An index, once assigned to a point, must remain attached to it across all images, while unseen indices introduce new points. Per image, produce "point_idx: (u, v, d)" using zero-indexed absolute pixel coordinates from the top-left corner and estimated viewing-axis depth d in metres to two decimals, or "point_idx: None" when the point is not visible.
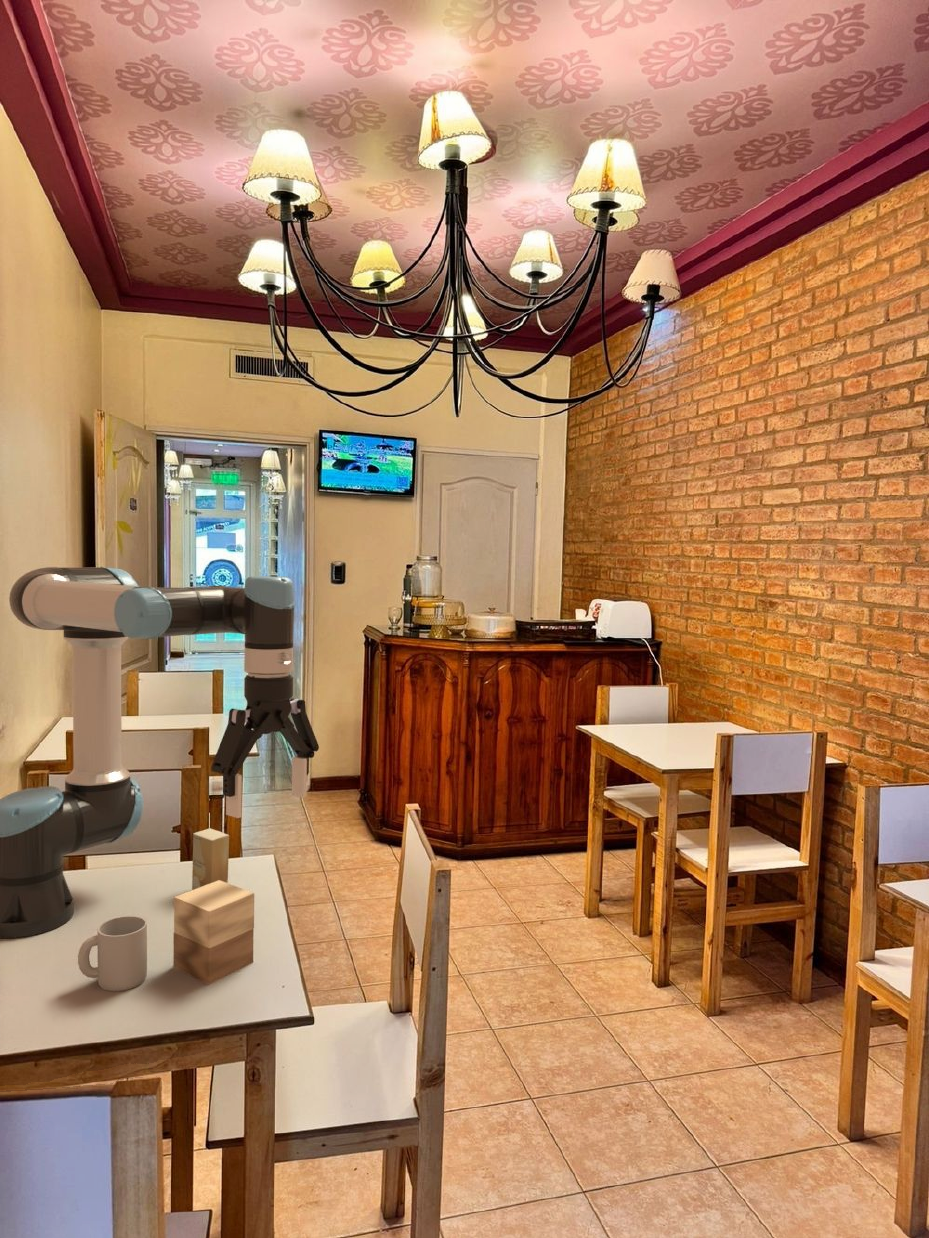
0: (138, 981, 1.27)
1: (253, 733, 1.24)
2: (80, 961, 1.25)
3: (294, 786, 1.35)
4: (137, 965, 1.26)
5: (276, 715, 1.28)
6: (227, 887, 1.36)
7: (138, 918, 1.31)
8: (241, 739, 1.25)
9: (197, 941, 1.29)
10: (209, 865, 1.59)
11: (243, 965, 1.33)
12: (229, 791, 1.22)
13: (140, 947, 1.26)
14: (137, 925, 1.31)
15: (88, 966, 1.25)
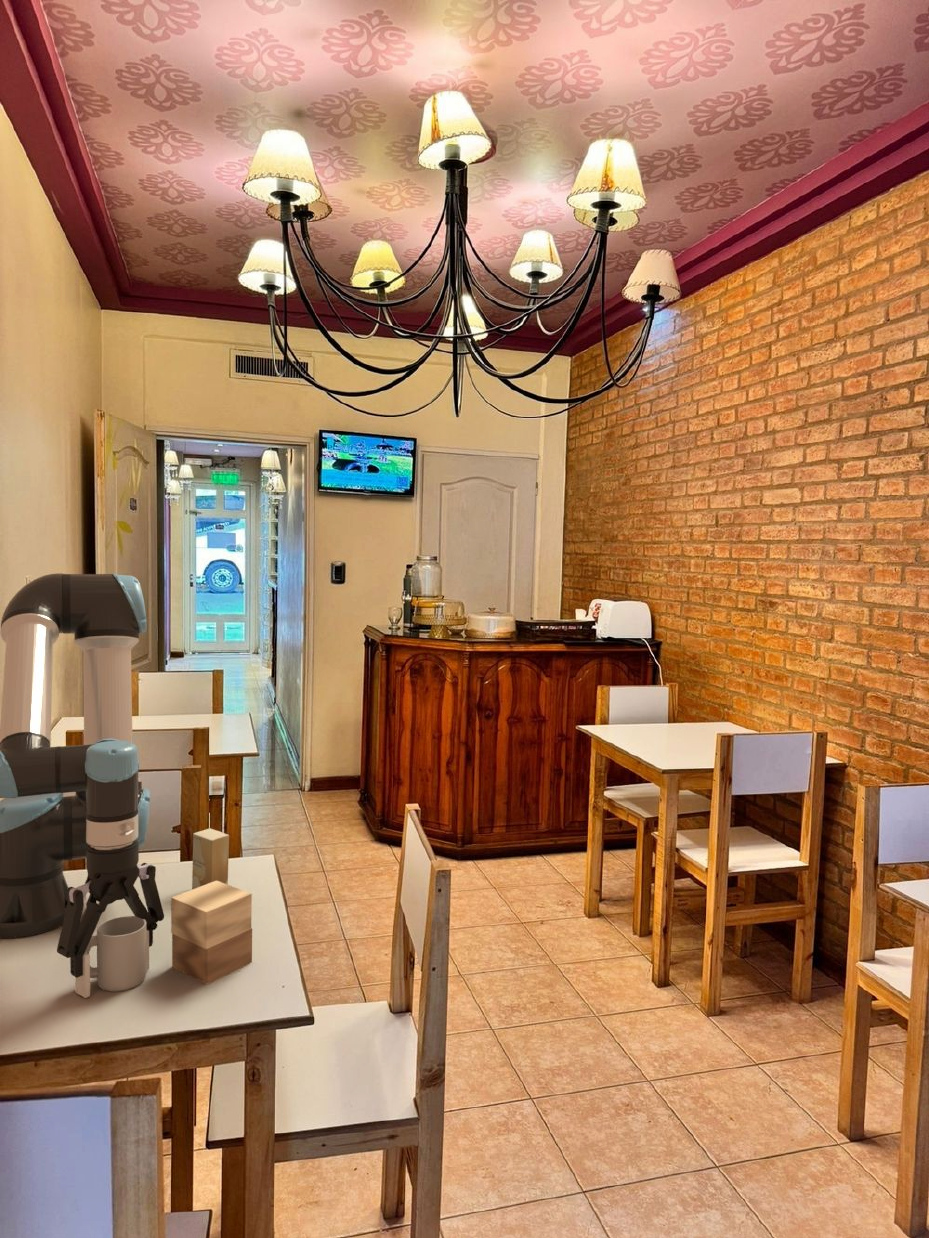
0: (137, 981, 1.26)
1: (96, 908, 1.23)
2: None
3: None
4: (136, 965, 1.26)
5: (121, 882, 1.26)
6: (224, 887, 1.36)
7: (137, 918, 1.31)
8: (85, 915, 1.24)
9: (194, 942, 1.29)
10: (209, 865, 1.59)
11: (242, 965, 1.33)
12: (76, 972, 1.22)
13: (139, 947, 1.26)
14: (137, 925, 1.31)
15: None
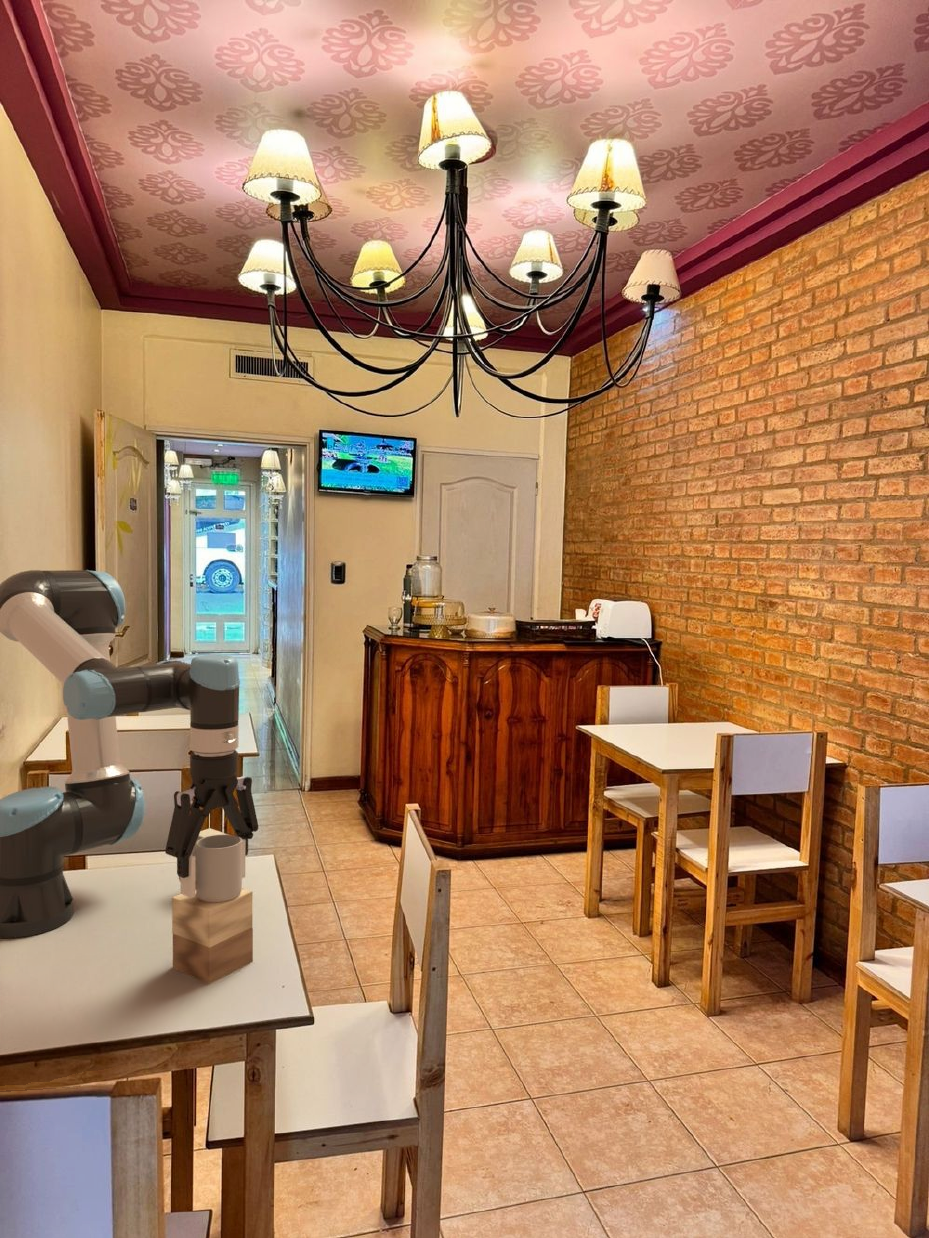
0: (234, 894, 1.31)
1: (200, 813, 1.28)
2: None
3: None
4: (233, 878, 1.31)
5: (222, 790, 1.32)
6: None
7: (233, 836, 1.36)
8: (190, 819, 1.29)
9: (196, 941, 1.29)
10: None
11: (243, 964, 1.33)
12: (183, 873, 1.27)
13: (236, 861, 1.31)
14: (232, 843, 1.36)
15: None
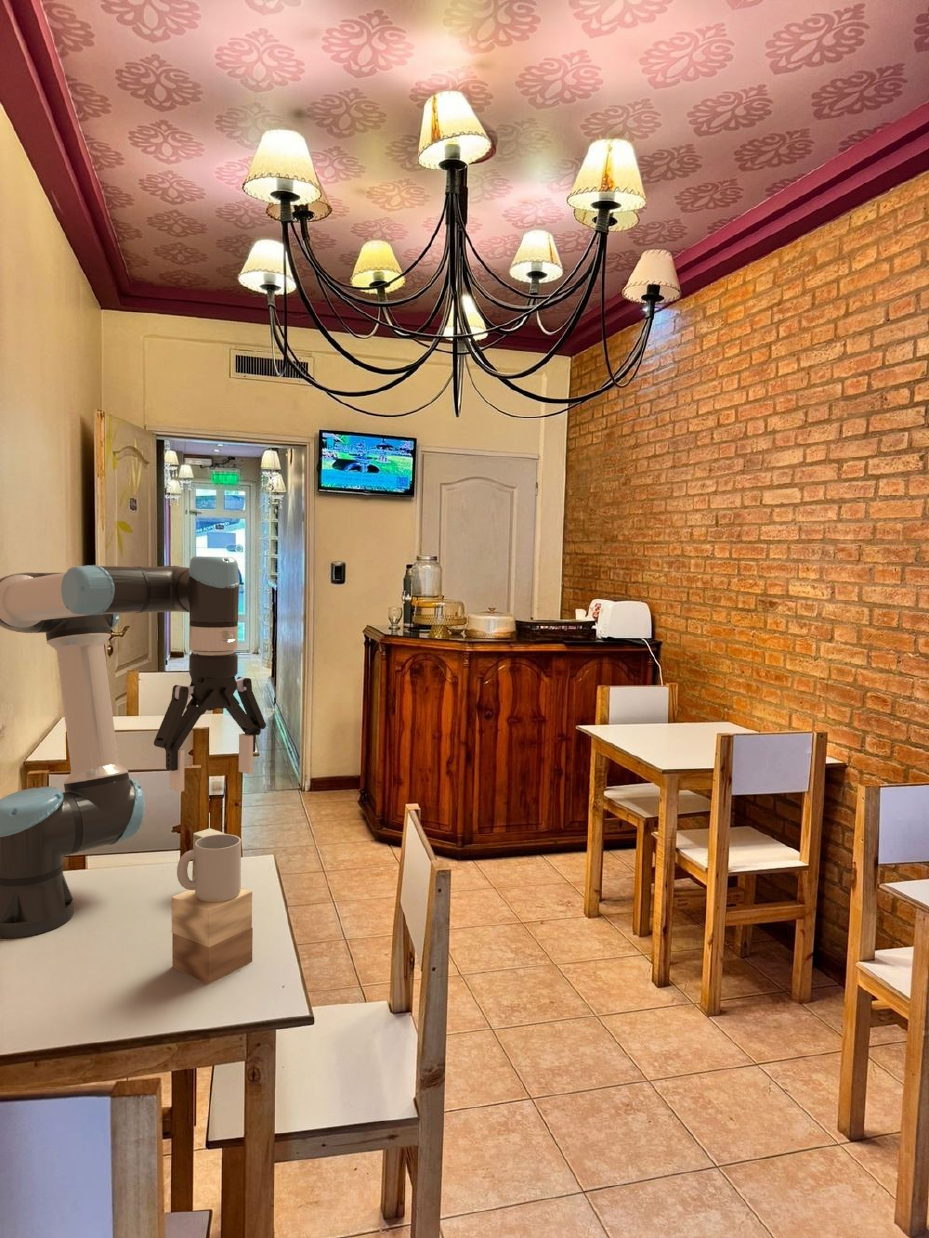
0: (233, 894, 1.31)
1: (196, 709, 1.27)
2: (179, 873, 1.30)
3: (241, 763, 1.38)
4: (232, 878, 1.31)
5: (221, 692, 1.31)
6: None
7: (232, 836, 1.36)
8: (185, 715, 1.28)
9: (196, 940, 1.29)
10: None
11: (242, 964, 1.34)
12: (171, 765, 1.25)
13: (235, 862, 1.31)
14: (231, 843, 1.36)
15: (187, 878, 1.31)
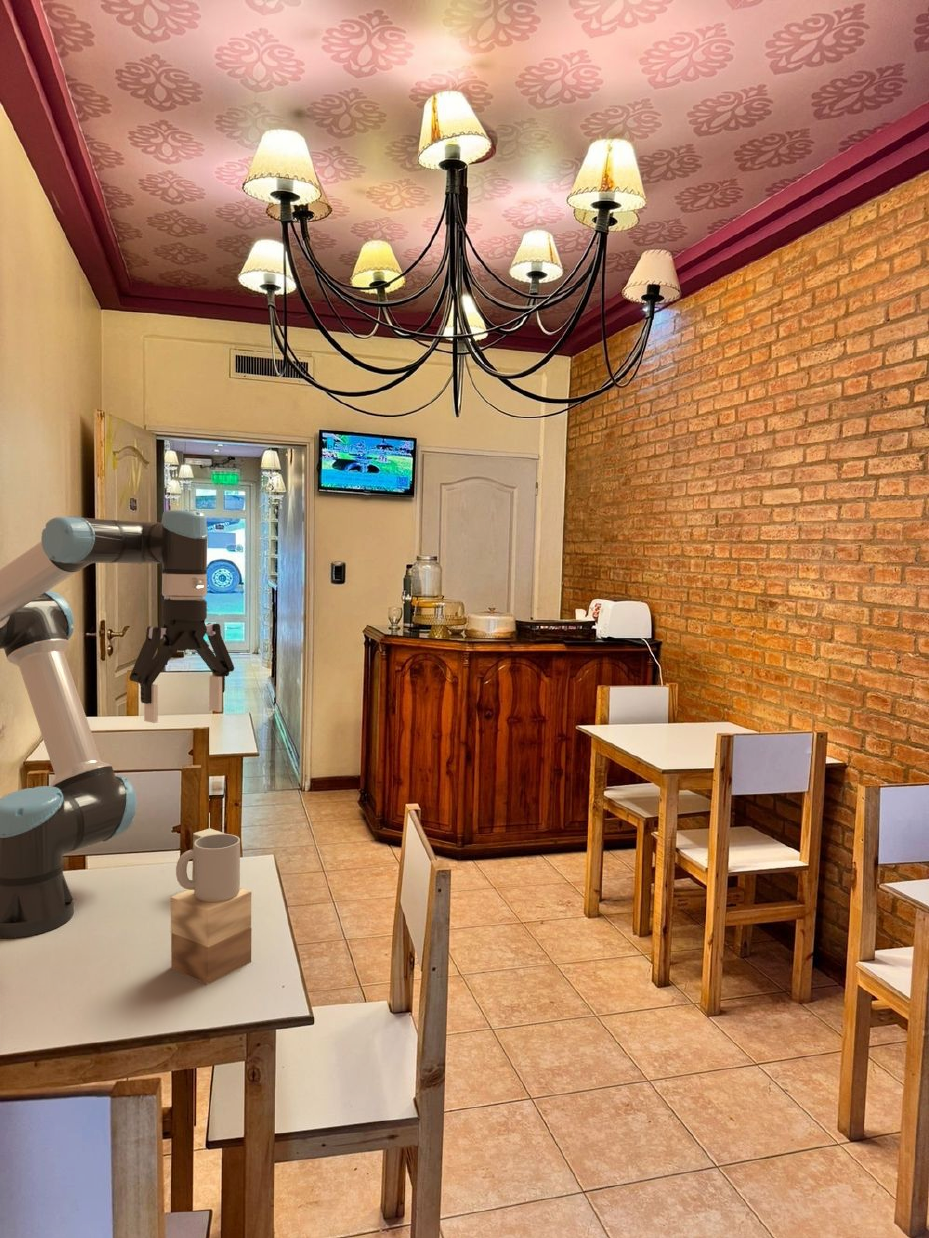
0: (232, 894, 1.31)
1: (168, 649, 1.40)
2: (178, 873, 1.30)
3: (211, 702, 1.51)
4: (231, 878, 1.31)
5: (192, 635, 1.44)
6: None
7: (231, 836, 1.36)
8: (158, 654, 1.40)
9: (195, 940, 1.29)
10: None
11: (241, 964, 1.33)
12: (146, 698, 1.38)
13: (234, 861, 1.31)
14: (230, 842, 1.36)
15: (186, 878, 1.31)
